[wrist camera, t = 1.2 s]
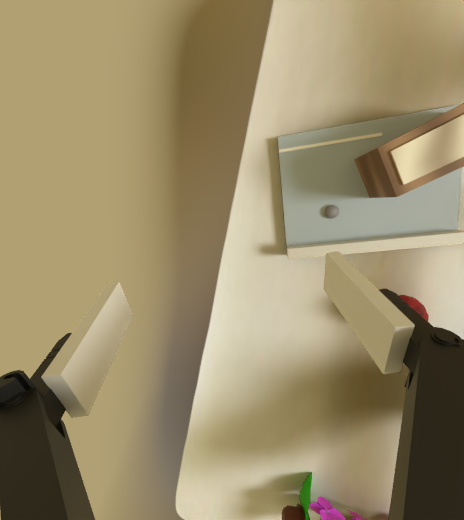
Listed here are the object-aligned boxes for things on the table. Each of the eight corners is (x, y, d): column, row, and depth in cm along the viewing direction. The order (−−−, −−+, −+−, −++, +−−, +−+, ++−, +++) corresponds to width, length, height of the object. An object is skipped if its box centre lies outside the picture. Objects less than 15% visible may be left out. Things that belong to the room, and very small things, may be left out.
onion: (391, 281, 39) (420, 300, 32) (419, 303, 39) (455, 327, 32) (364, 306, 41) (386, 331, 33) (391, 327, 41) (418, 356, 33)
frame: (445, 112, 32) (502, 83, 24) (459, 155, 33) (519, 141, 25) (353, 159, 35) (378, 147, 27) (369, 197, 36) (397, 197, 28)
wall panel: (459, 106, 33) (478, 97, 30) (450, 239, 37) (467, 243, 34) (277, 138, 37) (278, 133, 34) (286, 254, 41) (288, 259, 38)
